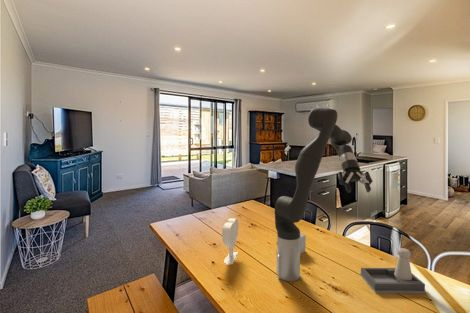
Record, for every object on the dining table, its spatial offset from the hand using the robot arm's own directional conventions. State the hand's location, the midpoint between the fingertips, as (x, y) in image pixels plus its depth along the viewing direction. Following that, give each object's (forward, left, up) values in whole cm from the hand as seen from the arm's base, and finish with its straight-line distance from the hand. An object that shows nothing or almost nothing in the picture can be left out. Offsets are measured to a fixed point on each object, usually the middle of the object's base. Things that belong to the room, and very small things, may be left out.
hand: (359, 191), depth 111 cm
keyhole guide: (+5, -18, -33) cm, 37 cm away
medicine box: (-26, +7, -33) cm, 43 cm away
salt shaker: (+10, -17, -32) cm, 38 cm away
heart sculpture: (-59, +2, -33) cm, 68 cm away
